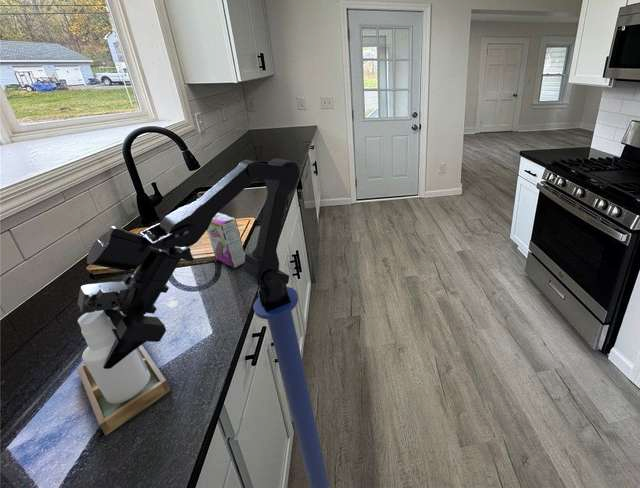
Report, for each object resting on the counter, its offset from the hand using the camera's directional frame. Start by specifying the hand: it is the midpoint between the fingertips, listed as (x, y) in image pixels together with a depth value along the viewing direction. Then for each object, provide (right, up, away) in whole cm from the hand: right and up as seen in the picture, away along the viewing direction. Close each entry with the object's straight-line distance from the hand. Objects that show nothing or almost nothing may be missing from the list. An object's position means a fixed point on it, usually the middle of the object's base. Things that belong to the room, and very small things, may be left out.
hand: (101, 358), depth 57 cm
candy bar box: (-3, +6, +48) cm, 49 cm away
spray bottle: (+1, -8, +4) cm, 9 cm away
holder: (-2, -9, +8) cm, 12 cm away
